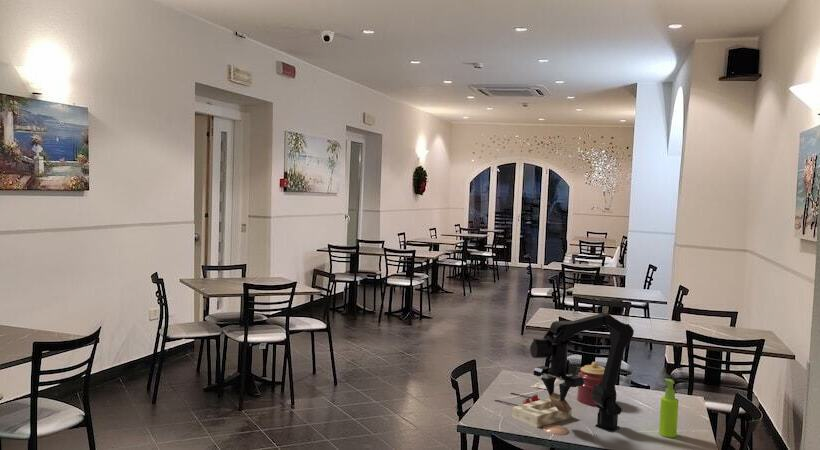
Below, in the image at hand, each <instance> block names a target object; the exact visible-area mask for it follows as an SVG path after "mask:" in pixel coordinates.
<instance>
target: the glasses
mask: <svg viewBox="0 0 820 450" xmlns="http://www.w3.org/2000/svg"><path fill="white" fill-rule="evenodd" d="M509 394H513V395H517V396H521V397H525V398H526V399H524V400H523V402H522V404H521V405H523V404H527V403H531V402H535V401H539V400H541V399H540V398H539V395H538V394H534V395H532V396H529V395H528V396H527V395H524V394H519V393H515V392H510V393H509ZM530 399H531V400H530ZM493 402H500V403H505V404H508V405H513V406H519V405H520V404H519V405H518V404H514V403H511V402H508V401H504V400H499V399H495V400H493Z"/></svg>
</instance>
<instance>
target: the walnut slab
mask: <svg viewBox="0 0 820 450" xmlns="http://www.w3.org/2000/svg"><path fill="white" fill-rule="evenodd" d="M548 399H550V400H551V401H552V403H553V404H554V405H555V407H556V408H557V409H558V410H559V411H561V412H564V413H567V414H568V413H569V412H570V410H571V407H572V406H571V405H570V404H569V402H567V400H566V398H565V399H564V401H563V402H562V401H561V398H560V393H559V394H558V393H556V392H554V393H553V392H552V394H551V395H549V398H548ZM570 406H571V407H570Z"/></svg>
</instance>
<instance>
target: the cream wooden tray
mask: <svg viewBox="0 0 820 450" xmlns="http://www.w3.org/2000/svg"><path fill="white" fill-rule="evenodd" d="M530 402H531V403H527V404H524V403H522V404H523V405H522V404H519V406H516V405H514V406H513V407H512V418H514V419H516V420H518V421H521V422H523V423H525V424H528V425H530V426H531V427H535V428H539V427H543V426H545V425H550V424H555V423H558V422H561V421H564V420H569V419H572V409H573V408H572V406H571V405H569V406H570V407H571V410H570V412H569V413H568V414H567V413H564V412H561V411H559V410H558V409H557V408H556V407H555V405H554V404H553V403H552V401H551V400H550V398H544V399H540V400H538V401H535V402H532V401H530Z"/></svg>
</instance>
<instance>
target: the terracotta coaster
mask: <svg viewBox="0 0 820 450" xmlns="http://www.w3.org/2000/svg"><path fill="white" fill-rule="evenodd" d="M542 429H543V430H544V432H546V433H548V434H552V435H559V436H563V435H568V433H569V429H568V428H567V427H566V426H563V425H559V424H554V423H551V424H547V425H544V426H542Z"/></svg>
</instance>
